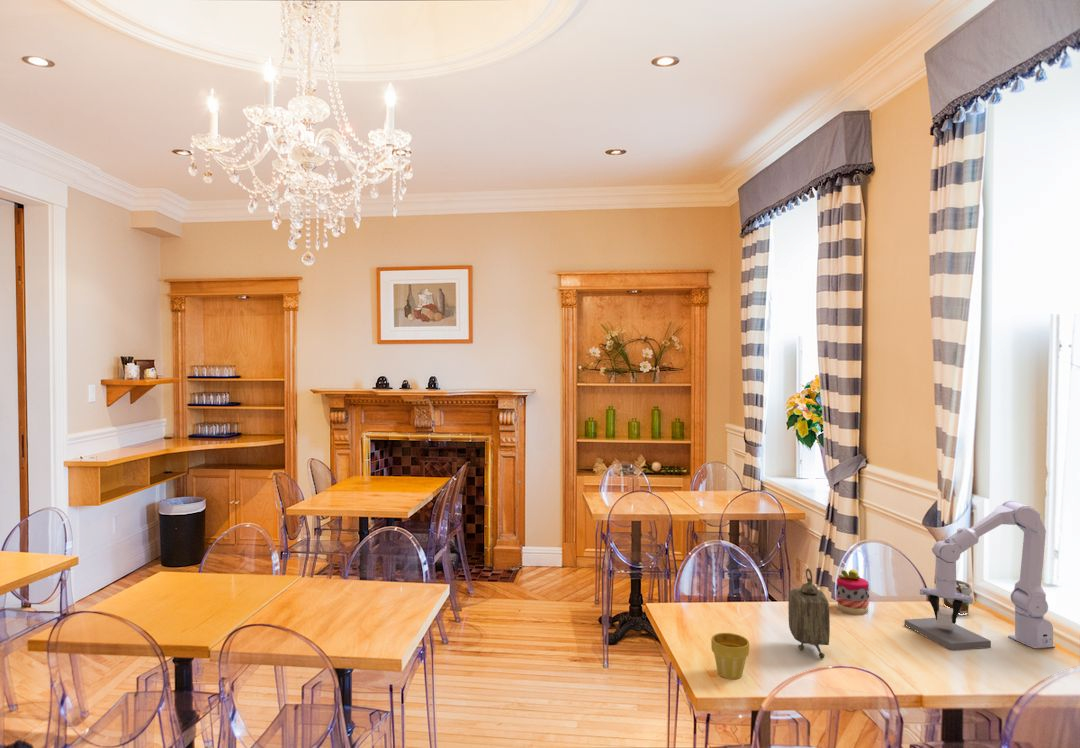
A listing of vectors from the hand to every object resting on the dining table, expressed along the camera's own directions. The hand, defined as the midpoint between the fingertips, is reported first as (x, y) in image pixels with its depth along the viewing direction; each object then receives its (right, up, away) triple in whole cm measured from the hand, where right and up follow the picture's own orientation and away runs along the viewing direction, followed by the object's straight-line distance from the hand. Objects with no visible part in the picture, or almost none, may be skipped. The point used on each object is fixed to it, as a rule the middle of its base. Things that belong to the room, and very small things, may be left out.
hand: (945, 620), depth 209 cm
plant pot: (-78, -5, -27) cm, 83 cm away
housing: (0, -2, 0) cm, 2 cm away
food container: (+20, -5, +23) cm, 30 cm away
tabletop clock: (-50, -5, -11) cm, 51 cm away
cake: (-19, -5, +23) cm, 30 cm away
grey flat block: (0, -5, 0) cm, 5 cm away
